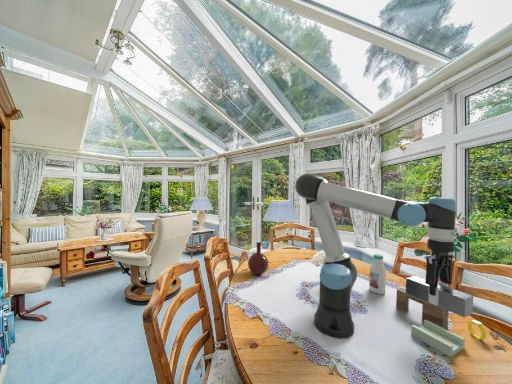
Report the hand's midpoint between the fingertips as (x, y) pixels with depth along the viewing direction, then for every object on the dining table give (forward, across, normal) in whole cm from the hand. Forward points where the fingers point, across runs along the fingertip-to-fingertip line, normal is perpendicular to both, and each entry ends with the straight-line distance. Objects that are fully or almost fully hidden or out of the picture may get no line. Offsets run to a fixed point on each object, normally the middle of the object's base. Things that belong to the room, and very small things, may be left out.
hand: (438, 301), depth 79 cm
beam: (+15, +11, +11) cm, 21 cm away
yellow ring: (+15, +17, -5) cm, 23 cm away
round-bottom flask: (+15, -34, +81) cm, 89 cm away
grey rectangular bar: (0, 0, +1) cm, 1 cm away
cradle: (+15, 0, 0) cm, 15 cm away
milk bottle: (+15, +17, +35) cm, 42 cm away
